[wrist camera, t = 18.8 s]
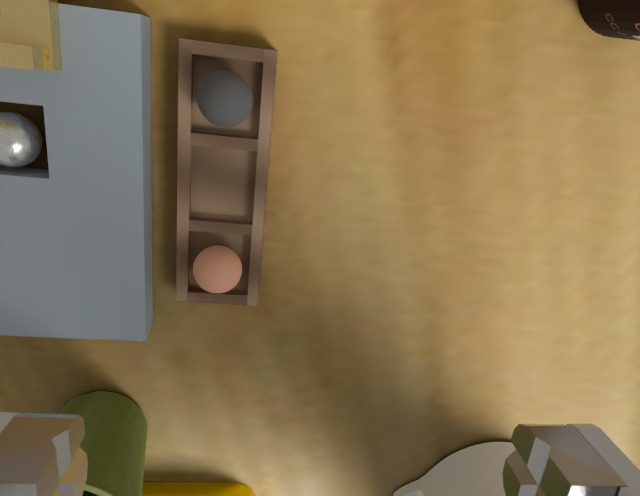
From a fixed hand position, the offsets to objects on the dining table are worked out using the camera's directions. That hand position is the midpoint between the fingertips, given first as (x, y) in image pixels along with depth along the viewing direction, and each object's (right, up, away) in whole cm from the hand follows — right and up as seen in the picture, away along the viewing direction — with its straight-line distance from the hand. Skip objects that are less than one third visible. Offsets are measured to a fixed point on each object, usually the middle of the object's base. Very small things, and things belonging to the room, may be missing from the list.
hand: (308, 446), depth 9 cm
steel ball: (-19, +11, +23) cm, 32 cm away
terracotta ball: (-7, +3, +26) cm, 28 cm away
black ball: (-6, +14, +22) cm, 27 cm away
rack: (-7, +8, +25) cm, 27 cm away
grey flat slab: (-20, +8, +24) cm, 32 cm away
